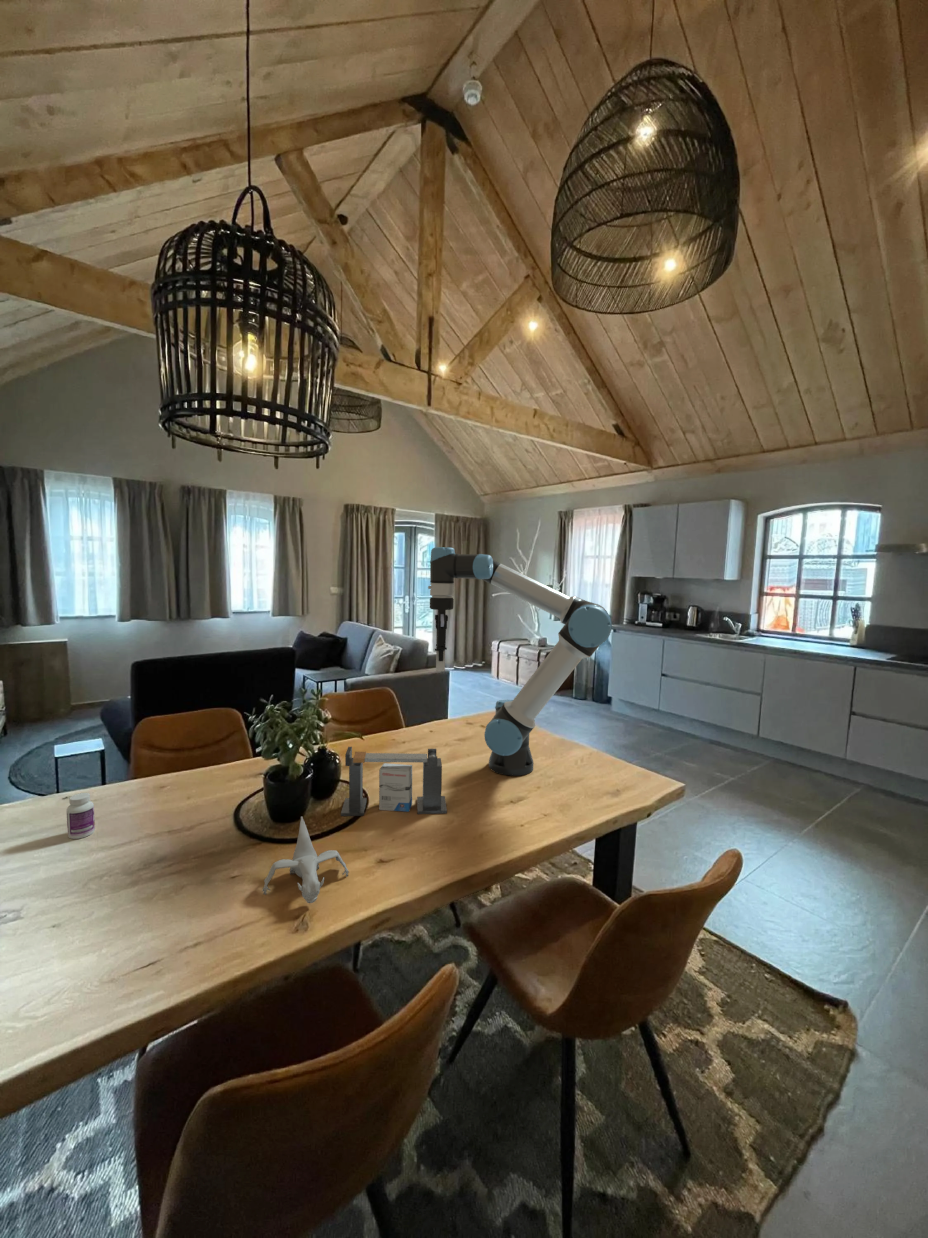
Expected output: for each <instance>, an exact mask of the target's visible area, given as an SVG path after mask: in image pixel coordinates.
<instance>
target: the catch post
mask: <svg viewBox="0 0 928 1238" xmlns="http://www.w3.org/2000/svg"><path fill="white" fill-rule="evenodd" d="M345 752H346V753H345V765H344V766H345V767H348V768H349V769H348V778H349V779H348V788H349V789H348V797H347V798H346V797H345V799H344V801H343V804H342V809H341V812H340V817H363V816H364V815H365V812H366V811H365V810H366V806H367V802H368V801H367V797H364V795H363V789H364V788H363V782H364V781H363V775H364V774H363V770H364V769H363V767H364V766H363V763H353V758H354V757H353V746H348V747H347V749H346V751H345Z"/></svg>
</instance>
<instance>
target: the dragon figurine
mask: <svg viewBox="0 0 928 1238" xmlns="http://www.w3.org/2000/svg"><path fill="white" fill-rule="evenodd" d="M298 830H299V831H298V836H297V841H296V845H295V848H294V851H293V856H292V859H287V858H286V859H283V858H282V859H280V860H277V861H275V862H273V864H272V865H271V866H270V869H269V872H268V874H267V876H266V877H264V878H265V879H264V880H263V882H264V886H263V888H262V890H261V892H263V893H262V894H263V895H265V896H266V895H267V894H268V893H267V891H269V892H271V888H269V887H268V885H269V883H270V881H271V880H272V878H273V876H274V875H275V873H276V870H281V869H285V868H287V869H289V875H290V876H291V875H295V874H296V875H297V876H298V877H299V878H301V879H302V883H301V884H300V883H299V882H297V887H298V890H299V891H301V896H302V898H303V900H305V902H306V903H307V904H312V903H315V902H316V901H317V899H318V896H319V895H320V889H321V888H322V887H323V885H324V882H325V877H322V879H321V881H319V877H318V874H317V873H318V872H317V870H318V869H320V864H321V863H323V862H325V861H327V860H331V859H335V860H336V862H339V863H340V865H341V866H342V867H343V868H344V871H343V873H342V874H341V876H344V875H345V877H346V878H348V876H349V873H350V872H349V869H348V867H347V866H346V862H344V860H343V858H342V857H341V855H340V853H339V852H338V850H334V849H333V850H332V849H331V850H330V849H328V850H325V851H323V852H322V853H321V852H320V854H319V855H318V854H317V851H316V850H315V848H314V846H313V843H312V840H311V838H310V834H309V831H308V828H307V824H306V823H305V820H304V818H303V816H300V822H299V828H298Z"/></svg>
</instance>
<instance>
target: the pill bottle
mask: <svg viewBox="0 0 928 1238" xmlns="http://www.w3.org/2000/svg"><path fill="white" fill-rule="evenodd" d="M94 804H95V803H94V802H93V801H92V800H91V794H90V793H89V792H81V793H77V794H76V793H75V794H72V796H69V805H68V807H67V808H66V823H67V824H66V826H67V836H68V838H69V839H71V840H79V839H83V838H86V837H89V836H90V835H93V834H94V832H95V831H96V826H95V825H96V824H95V821H96V820H95V805H94Z"/></svg>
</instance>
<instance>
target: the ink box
mask: <svg viewBox="0 0 928 1238" xmlns="http://www.w3.org/2000/svg"><path fill="white" fill-rule="evenodd" d="M378 778H379V781H378V782H379V783H378V786H379V788H378V789H379V790H378V794H379V795H378V802H379V803H378V804H379V805H378V808H379V809H378V810H379V811H393V812H395V811H396V812H406V813H407V812H409V813H410V811H411V808H412V806H413V764H402V763H401V764H400V763H389V762H383V763H382V765H381V766H380V768H379V774H378Z"/></svg>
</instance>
